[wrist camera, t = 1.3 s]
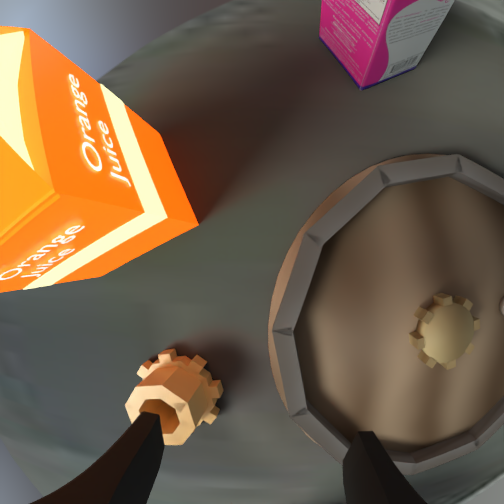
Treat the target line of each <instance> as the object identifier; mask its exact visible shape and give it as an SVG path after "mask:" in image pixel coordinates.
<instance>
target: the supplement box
mask: <svg viewBox="0 0 504 504" xmlns="http://www.w3.org/2000/svg"><path fill="white" fill-rule="evenodd" d="M454 1H455V0H322V5H321V19H320V31H319V39H320V40H321V41H322V42H323V43H324V44H325V46H326V47H327V48H328V49H329V50H330V52H331V53H332V54H333V55H334V57H335V58H336V59H337V60H338V62H339V63H340V64H341V65H342V67H343V68H344V69H345V70H346V72H347V73H348V74H349V76H350V77H351V78H352V80H353V81H354V82H355V84H356V85H357V86H358V88H359V89H360V90H364V89H367V88H369V87H371V86H374V85H376V84H379V83H381V82H384V81H386V80H388V79H391V78H393V77H396V76H398V75H400V74H403V73H405V72H408V71H410V70H413V69H415V68H416V66H417V64H418V62H419V61H420V59H421V57H422V55H423V54H424V52H425V50H426V49H427V47H428V45H429V44H430V42H431V40H432V39H433V37H434V35H435V34H436V32H437V30H438V29H439V27H440V25H441V23H442V22H443V20H444V18H445V17H446V15H447V13H448V12H449V10H450V8H451V6H452V4H453V2H454Z"/></svg>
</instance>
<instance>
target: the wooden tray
mask: <svg viewBox="0 0 504 504" xmlns="http://www.w3.org/2000/svg"><path fill="white" fill-rule="evenodd" d="M268 348H269V355H270V362H271V369H272V373H273V376H274V380H275V383H276V387H277V390H278V392H279V394H280V396H281V399H282V401H283V403H284V405H285V407H286V409H287V410H288V412H289V417H290V418H291V419H292V420H293V421H294V422H295V423H296V424H297V425H298V426H299V427H300V428H301V429H302V430H303V431H304V433H305V434H306V435H307V436H308V437H309V438H310V439H312V440H313V441H314V442H315V443H317V444H318V445H319V446H321V447H322V448H323V449H324V450H325V451H326V452H327V453H329V454H330V455H331V456H332V457H333V458H334V459H335V460H336V461H338V462H339V463H340V464H341V465H342V466H343V459H344V457H345V455H346V453H347V451H348V449H349V448H350V446H351V444H352V442H353V440H354V438H355V436H356V434H357V432H358V431H373V432H374V433H375V435H376V436H377V438H378V439H379V441H380V442H381V444H382V445H383V447H384V449H385V450H386V452H387V453H388V455H389V456H390V458H391V459H392V461H393V462H394V463H395V465H396V466H397V468H398V469H399V470H400V472H401V473H402V475H414V474H417V473H420V472H423V471H426V470H429V469H431V468H434V467H437V466H439V465H442V464H445V463H447V462H450V461H452V460H454V459H457V458H459V457H461V456H464V455H466V454H468V453H471V452H473V451H475V450H477V449H479V448H480V447H481V446H482V445H483V444H484V443H485V442H486V441H487V440H488V439H489V438H490V437H491V436H492V435H493V434H494V433H495V432H496V431H497V430H498V429H499V428H500V427H501V426H502V425H503V424H504V179H503V178H501V177H500V176H498V175H496V174H494V173H493V172H491V171H489V170H487V169H486V168H484V167H482V166H480V165H478V164H476V163H474V162H473V161H471V160H469V159H467V158H465V157H463V156H461V155H459V154H454V155H438V154H416V155H407V156H402V157H398V158H394V159H389V160H387V161H384V162H382V163H379V164H377V165H374V166H372V167H369V168H368V169H366V170H364V171H362V172H361V173H359V174H357V175H355V176H354V177H352V178H350V179H349V180H348V181H346V182H345V183H344V184H343V185H341V186H340V187H339V188H338V189H336V190H335V191H334V192H333V193H331V194H330V195H329V196H328V197H327V199H326V200H325V201H324V202H323V203H322V204H321V205H320V206H319V207H318V208H317V209H316V210H315V211H314V212H313V214H312V215H311V216H310V218H309V219H308V220H307V222H306V223H305V225H304V226H303V227H302V229H301V230H300V231H299V233H298V235H297V237H296V238H295V240H294V242H293V244H292V246H291V247H290V249H289V251H288V253H287V255H286V258H285V260H284V263H283V265H282V267H281V270H280V272H279V275H278V278H277V282H276V286H275V289H274V293H273V297H272V301H271V308H270V316H269V323H268Z"/></svg>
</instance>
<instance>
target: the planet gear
mask: <svg viewBox="0 0 504 504" xmlns="http://www.w3.org/2000/svg"><path fill="white" fill-rule="evenodd" d="M158 357H159V359H157V360H156V361H155V362H154V363H152V362H151V361H149V360H148V361H146V362H145V363H144V364H142V366H141V367H140V369H139V371H138V372H137V374H138V375H139V376H140V377H142V378H143V380H142V382H141V383H139V384H138V385H137V386H136V387H135V389H134V391H133V393H132V394H131V396H130V398H129V399H128V401H127V403H126V404H125V406H126V409H127V412H128V414H129V417H130V420H131V422H132V423H133V422H134V421H135V420H136V418H137V417H138V416H139V415H140V413H141V412H143V411H145V412H150V413H155V414H159V415H160V422H161V428H162V433H163V439H164V445H182V444H183V443H184V442H185V441H186V439H187V438H188V437H189V436H190V434H191V433H192V432H194V430H195V428H196V427H197V426H198V425H200V424H201V422H202V421H203V420H204V421H206V422H207V423H209V424H211V423H212V422H213V421H214V419H215V418H216V417H217V415H218V413H219V410H220V409H219V408H218V407H216V406H215V403H216V401H217V398H220V397H221V395H222V393H223V387H222V383H221V380H214V381H213V380H212V377H211V373H210V372H209V371H207V370H206V369H204V368H203V367H204V366H205V364H206V363H207V361H206V360H204V359H203V358H201V357H200V356H198V355H196V356H195V357H194V358H193V359H192V360H191V359H189V358H188V357H187V356H178V357H177V353H176V350H175V349H169V350H164V351H162V352H161V353H160V354H159V355H158Z"/></svg>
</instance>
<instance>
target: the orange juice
mask: <svg viewBox="0 0 504 504" xmlns="http://www.w3.org/2000/svg"><path fill="white" fill-rule="evenodd" d="M198 225H199V224H198V222H197V220H196V217H195V215H194V213H193V211H192V208H191V206H190V204H189V201H188V199H187V197H186V195H185V192H184V190H183V188H182V185H181V183H180V181H179V178H178V176H177V174H176V171H175V169H174V167H173V164H172V162H171V159H170V157H169V155H168V152H167V150H166V148H165V145H164V143H163V140H162V138H161V136H160V134H159V133H158V132H157V131H156V130H155V129H153V128H152V127H151V126H150V125H149V124H147V123H146V122H145V121H144V120H143V119H141V118H140V117H139V116H138V115H137V114H135V113H134V112H133V111H132V110H131V109H129V108H128V107H127V106H126V105H125V104H123V102H122V101H121V100H120V99H119V98H118V97H116V96H115V95H114V94H113V93H112V92H110V91H109V90H108V89H107V88H105V87H104V86H103V85H102V84H99V83H98V82H96V81H95V80H94V79H93V78H91V77H90V76H89V75H88V74H87V73H85V72H84V71H83V70H82V69H80V68H79V67H78V66H76V65H75V64H74V63H73V62H71V61H70V60H69V59H67V58H66V57H65V56H64V55H63V54H61V53H60V52H59V51H58V50H56V49H55V48H54V47H52V46H51V45H50V44H49V43H47V42H46V41H45V40H43V39H42V38H41V37H40V36H38V35H37V34H36V33H34V32H33V31H32V30H30V29H27V28H18V27H8V26H0V292H6V291H13V290H19V289H23V290H24V289H31V288H37V287H43V286H49V285H52V284H56V283H63V282H69V281H75V280H82V279H88V278H94V277H100V276H103V275H105V274H106V273H108V272H110V271H112V270H114V269H115V268H117V267H119V266H121V265H123V264H125V263H127V262H128V261H130V260H132V259H134V258H136V257H138V256H140V255H142V254H143V253H145V252H147V251H149V250H151V249H153V248H155V247H157V246H159V245H161V244H162V243H164V242H166V241H168V240H170V239H172V238H174V237H176V236H178V235H180V234H182V233H184V232H186V231H188V230H190V229H192V228H194V227H196V226H198Z"/></svg>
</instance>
